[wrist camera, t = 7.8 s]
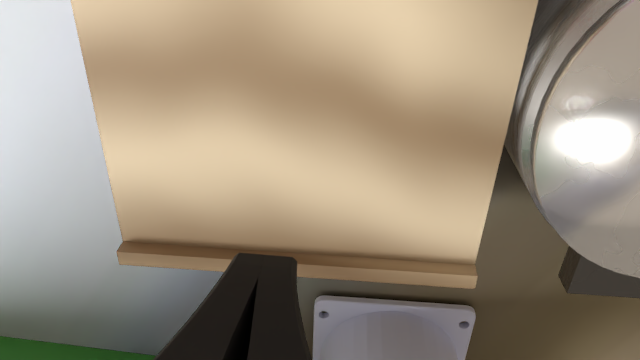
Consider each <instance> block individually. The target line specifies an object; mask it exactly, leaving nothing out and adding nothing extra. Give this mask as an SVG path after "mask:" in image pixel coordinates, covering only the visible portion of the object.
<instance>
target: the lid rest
mask: <svg viewBox="0 0 640 360" xmlns="http://www.w3.org/2000/svg"><path fill="white" fill-rule="evenodd" d="M537 4H538V0H71V5H72V9H73V14H74V18H75V23H76V28H77V32H78V37H79V41H80V46H81V51H82V55H83V60H84V64H85V69H86V74H87V78H88V83H89V87H90V92H91V97H92V101H93V106H94V110H95V115H96V120H97V124H98V129H99V133H100V138H101V143H102V147H103V152H104V157H105V161H106V166H107V170H108V175H109V180H110V184H111V189H112V193H113V198H114V203H115V207H116V212H117V216H118V221H119V226H120V230H121V235H122V239H123V242H122V244H121V246H120V247H119V249H118V250H117V257H118V261H119V265H133V266H148V267H163V268H177V269H192V270H206V271H221V272H225V270H226V269H227V267H228V266H229V264H230V263H231V261H232V259H233V258H234V256H235V255H237V254H238V253H250V254H262V255H275V256H287V257H293V258H294V259H295V260H296V261H297V277H308V278H323V279H338V280H352V281H367V282H381V283H396V284H411V285H425V286H440V287H454V288H469V289H475V286H476V282H477V278H478V275H477V271H476V268H475V262H476V258H477V253H478V249H479V245H480V241H481V237H482V233H483V229H484V224H485V220H486V216H487V212H488V208H489V204H490V199H491V195H492V191H493V187H494V183H495V179H496V175H497V170H498V166H499V162H500V158H501V154H502V150H503V145H504V141H505V137H506V133H507V129H508V125H509V120H510V116H511V112H512V108H513V104H514V100H515V96H516V91H517V87H518V83H519V79H520V75H521V71H522V66H523V62H524V58H525V54H526V50H527V46H528V42H529V37H530V33H531V29H532V25H533V21H534V17H535V12H536V8H537Z"/></svg>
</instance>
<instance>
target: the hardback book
mask: <svg viewBox="0 0 640 360" xmlns="http://www.w3.org/2000/svg"><path fill="white" fill-rule="evenodd" d="M155 357H156V356H154V355H146V354H138V353H130V352H122V351H114V350H106V349H98V348H90V347H82V346H74V345H67V344H59V343H51V342H43V341H35V340H27V339H19V338H11V337H3V336H0V360H153V359H154V358H155Z"/></svg>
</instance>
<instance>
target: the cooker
mask: <svg viewBox="0 0 640 360" xmlns="http://www.w3.org/2000/svg"><path fill="white" fill-rule="evenodd" d="M618 1H619V0H538V4H537V8H536V12H535V17H534V21H533V25H532V29H531V33H530V37H529V42H528V46H527V50H526V54H525V58H524V62H523V66H522V71H521V75H520V79H519V83H518V87H517V91H516V96H515V100H514V104H513V108H512V112H511V116H510V120H509V125H508V129H507V133H506V137H505V141H504V145H505V147H506V149H507V151H508V153H509V155H510V157H511V158H512V160H513V162H514V164H515V166H516V168H517V170H518V172H519V174H520V176H521V178H522V180H523V182H524V183H525V185H526V187H527V189H528V191H529V193H530V195H531V197H532V199H533V201H534V203H535V205H536V207H537V208H538V210H539V211H540V212H541V214H542V215H543V217H544V218H545V219H546V221H547V222H548V223H549V224H550V225H551V223H550V221H549V220H548V218H547V216H546V214H545V212H544V210H543V208H542V206H541V204H540V202H539V200H538V198H537V195H536V192H535V188H534V185H533V182H532V176H531V167H530V144H531V137H532V132H533V127H534V121H535V118H536V115H537V112H538V109H539V106H540V103H541V101H542V98H543V96H544V94H545V92H546V90H547V88H548V86H549V84H550V82H551V80H552V78H553V76H554V74H555V73H556V71H557V70H558V68H559V67H560V65H561V63H562V62H563V60H564V59H565V57H566V56H567V54H568V53H569V52H570V50H571V49H572V48H573V47H574V46H575V44H576V43H577V42H578V41H579V39H580V38H581V37H582V36H583V34H584V33H585V32H586V31H587V30H588V29H589V28H590V27H591V26H592V25H593V24H594V23H595V22H596V21H597V20H598V19H599V18H600V17H601V16H602V15H603V14H604V13H605V12H606V11H607V10H608V9H610V8H611V7H612V6H613V5H615V4H616V3H617V2H618ZM551 226H552V225H551ZM552 227H553V226H552ZM553 228H554V227H553ZM558 276H559V278H560V280H561V282H562V284H563V286H564V288H565V290H566V292H567V293H573V294H587V295H602V296H617V297H631V298H640V278H637V277H633V276H628V275H624V274H620V273H617V272H615V271H612V270H609V269H606V268H603V267H602V266H600V265H598V264H596V263H594V262H592V261H590V260H588V259H586V258H585V257H583V256H582V255H581V254H579V253H578V252H576V251H575V250H574V249H572V248H571V247H570V246H569V247H568V250H567V253H566V255H565V258H564V261H563V264H562V267H561V269H560V272H559V275H558Z"/></svg>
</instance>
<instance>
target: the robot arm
mask: <svg viewBox="0 0 640 360" xmlns="http://www.w3.org/2000/svg"><path fill="white" fill-rule="evenodd" d="M296 284H297V261H296V260H295V259H294V258H293V257H287V256H275V255H262V254H250V253H238V254H237V255H235V256H234V258H233V259H232V261H231V263H230V264H229V266H228V267H227V269H226V270H225V272H224V273H223V275H222V276H221V278H220V279H219V280H218V282H217V283H216V285H215V286H214V287H213V289H212V290H211V292H210V293H209V294H208V296H207V297H206V298H205V299H204V301H203V302H202V303H201V305H200V306H199V307H198V308H197V310H196V311H195V312H194V313H193V315H192V316H191V317H190V318H189V320H188V321H187V322H186V323H185V324H184V326H183V327H182V328H181V329H180V330H179V331H178V332H177V334H176V335H175V336H174V337H173V338H172V339H171V340H170V341H169V343H168V344H167V345H166V346H165V347H164V348H163V349H162V350H161V352H160V353H159V354H158V355H157V356H156V357H155V358H154V359H153V360H312V359H311V355H310V352H309V348H308V345H307V341H306V337H305V332H304V328H303V323H302V319H301V314H300V308H299V302H298V295H297V285H296ZM321 311H326V312H327V313H322V312H321ZM475 319H476V314H475V310H474V309H473V308H472V307H471V306H467V305H455V304H441V303H426V302H412V301H398V300H384V299H369V298H355V297H341V296H326V295H323V296H319V297H317V298H316V299H315V304H314V330H313V360H465V358H466V354H467V350H468V346H469V342H470V338H471V334H472V331H473V327H474V323H475ZM462 321H466V322H464V323H461V322H462Z"/></svg>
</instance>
